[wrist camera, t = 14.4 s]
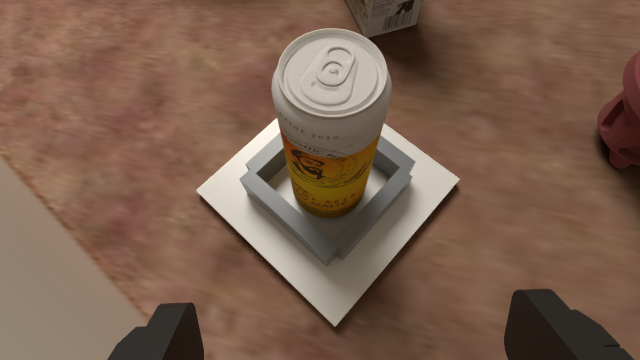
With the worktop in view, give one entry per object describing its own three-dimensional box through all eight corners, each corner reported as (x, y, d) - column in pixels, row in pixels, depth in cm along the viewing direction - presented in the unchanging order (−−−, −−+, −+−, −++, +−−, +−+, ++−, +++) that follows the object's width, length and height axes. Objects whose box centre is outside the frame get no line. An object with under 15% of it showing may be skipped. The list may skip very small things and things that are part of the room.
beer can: (281, 206, 31) (247, 101, 17) (308, 146, 33) (297, 9, 19) (350, 231, 30) (374, 141, 16) (373, 167, 32) (410, 40, 18)
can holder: (322, 83, 37) (321, 56, 33) (455, 183, 32) (472, 164, 29) (199, 194, 32) (183, 176, 29) (334, 327, 28) (336, 326, 24)
